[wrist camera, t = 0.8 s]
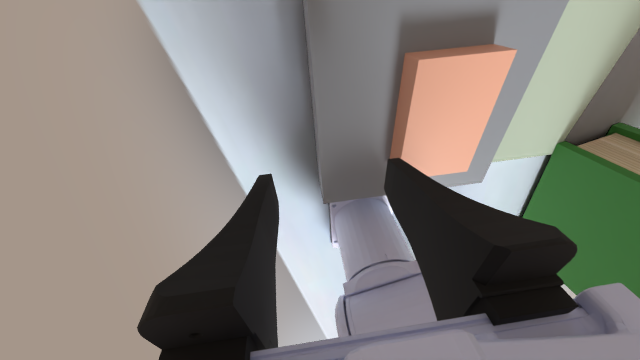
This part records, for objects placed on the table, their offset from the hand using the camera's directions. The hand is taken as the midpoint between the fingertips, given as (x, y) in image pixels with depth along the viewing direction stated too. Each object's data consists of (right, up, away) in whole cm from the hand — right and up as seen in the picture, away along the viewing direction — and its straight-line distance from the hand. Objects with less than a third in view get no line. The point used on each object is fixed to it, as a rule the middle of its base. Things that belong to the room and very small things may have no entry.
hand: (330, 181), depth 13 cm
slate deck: (+7, +8, +8) cm, 13 cm away
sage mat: (+20, +9, +9) cm, 24 cm away
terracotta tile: (+8, +5, +5) cm, 11 cm away
